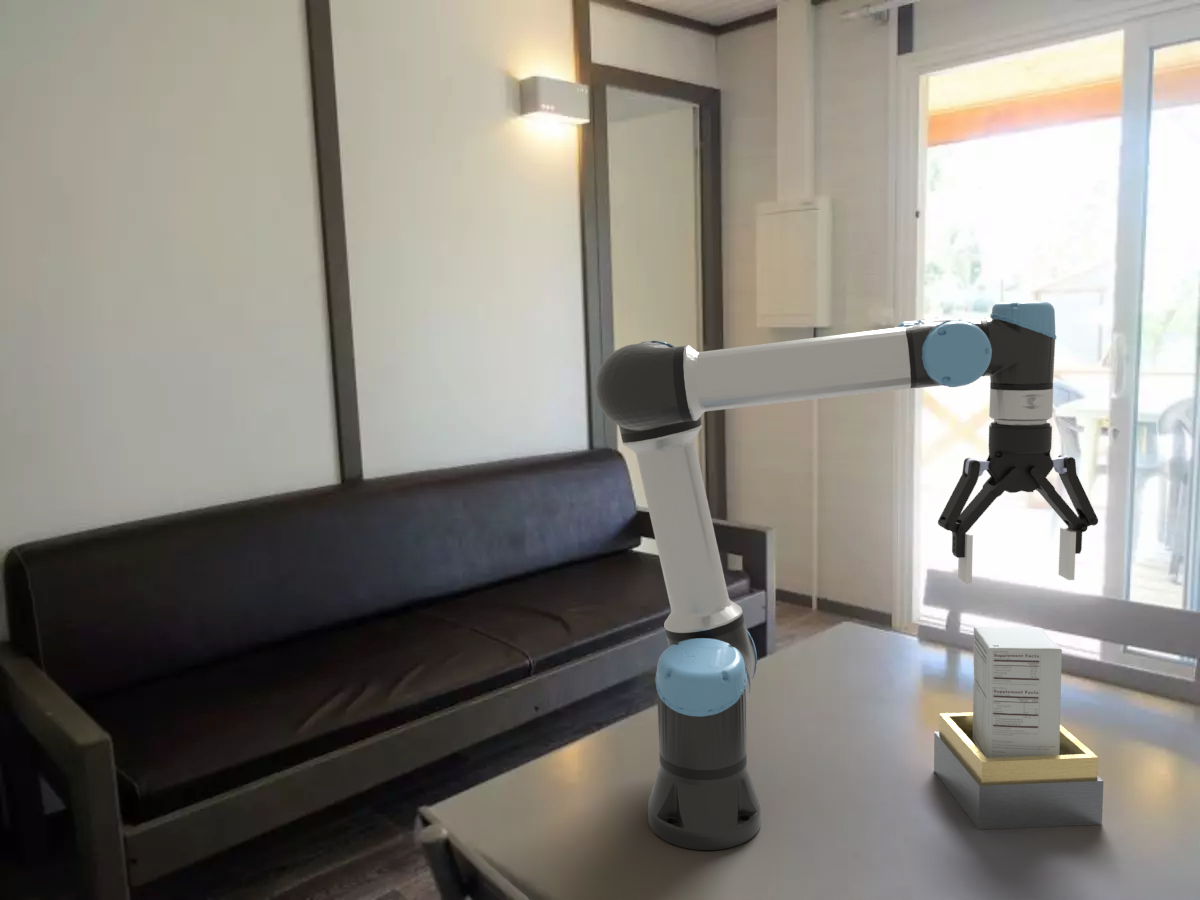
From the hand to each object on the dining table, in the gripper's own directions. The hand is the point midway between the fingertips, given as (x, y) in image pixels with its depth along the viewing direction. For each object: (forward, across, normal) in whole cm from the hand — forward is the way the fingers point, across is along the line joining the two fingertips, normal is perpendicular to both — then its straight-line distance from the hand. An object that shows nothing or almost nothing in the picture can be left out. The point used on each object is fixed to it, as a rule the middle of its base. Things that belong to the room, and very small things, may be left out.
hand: (1015, 579), depth 125 cm
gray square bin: (+31, 0, 0) cm, 31 cm away
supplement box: (+25, 0, 0) cm, 25 cm away
